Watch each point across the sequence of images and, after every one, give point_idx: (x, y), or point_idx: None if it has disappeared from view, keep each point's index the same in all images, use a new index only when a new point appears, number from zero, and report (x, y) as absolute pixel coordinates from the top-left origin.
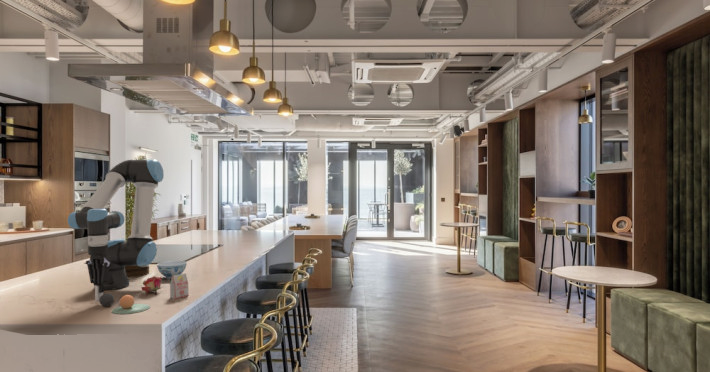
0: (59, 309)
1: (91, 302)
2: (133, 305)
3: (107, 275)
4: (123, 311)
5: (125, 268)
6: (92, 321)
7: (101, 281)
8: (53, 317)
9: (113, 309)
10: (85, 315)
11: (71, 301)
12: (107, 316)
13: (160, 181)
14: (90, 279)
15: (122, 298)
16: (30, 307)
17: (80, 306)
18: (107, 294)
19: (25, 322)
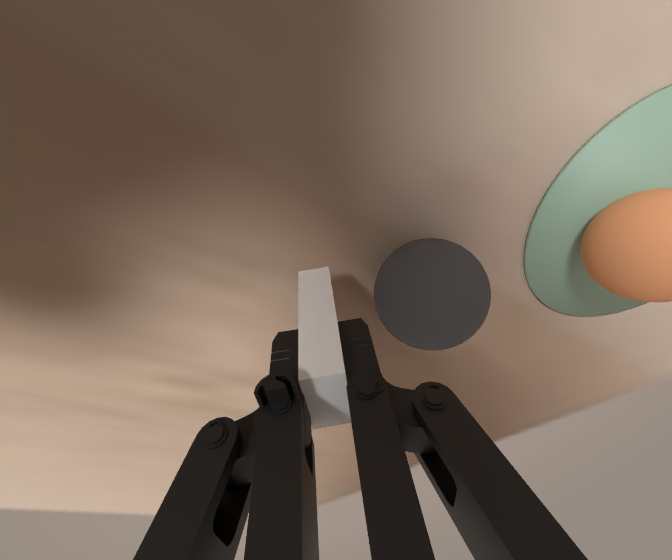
0: (223, 416)
1: (195, 275)
2: (621, 159)
3: (543, 521)
4: None
5: None
6: (564, 401)
7: (440, 466)
8: (349, 452)
9: (534, 288)
10: (458, 390)
11: (36, 334)
12: (583, 350)
13: None
14: (215, 515)
15: (667, 301)
16: (50, 465)
17: (253, 349)
18: (472, 331)
19: (322, 498)
